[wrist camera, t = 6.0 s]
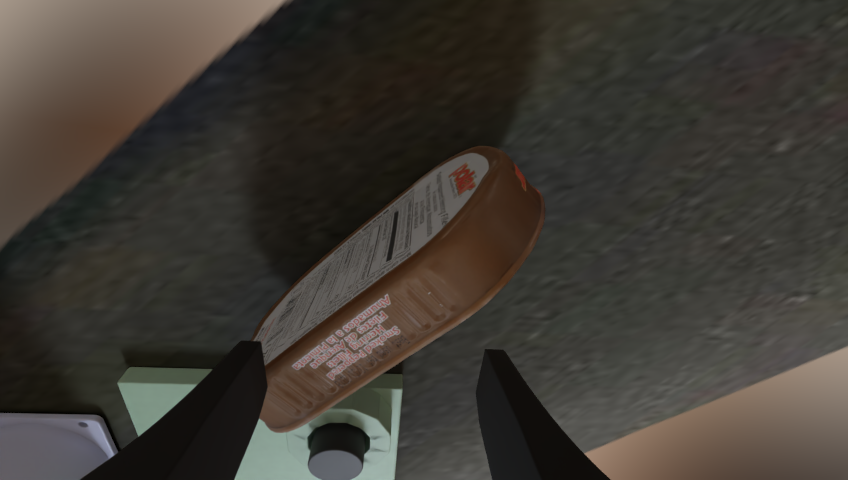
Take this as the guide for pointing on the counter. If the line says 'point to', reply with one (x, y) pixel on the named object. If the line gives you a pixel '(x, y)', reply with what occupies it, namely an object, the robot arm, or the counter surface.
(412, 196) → the tin
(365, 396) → the pale green flat piece
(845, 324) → the counter surface
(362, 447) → the button
